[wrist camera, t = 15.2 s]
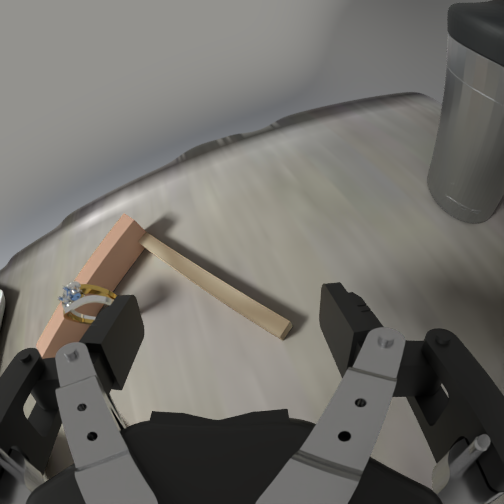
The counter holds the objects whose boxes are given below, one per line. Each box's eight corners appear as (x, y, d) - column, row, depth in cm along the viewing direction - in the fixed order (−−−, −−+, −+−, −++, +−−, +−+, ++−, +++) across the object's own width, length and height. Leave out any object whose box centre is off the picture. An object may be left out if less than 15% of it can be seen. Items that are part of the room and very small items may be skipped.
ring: (139, 301, 28) (89, 269, 22) (139, 329, 27) (85, 302, 20) (96, 312, 29) (48, 286, 23) (95, 337, 28) (43, 314, 21)
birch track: (152, 238, 32) (145, 231, 31) (292, 325, 23) (290, 321, 21) (65, 365, 27) (56, 363, 26) (164, 491, 17) (155, 494, 16)
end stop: (142, 231, 34) (124, 213, 30) (152, 238, 32) (134, 219, 29) (58, 353, 28) (35, 345, 25) (65, 365, 27) (41, 358, 24)
